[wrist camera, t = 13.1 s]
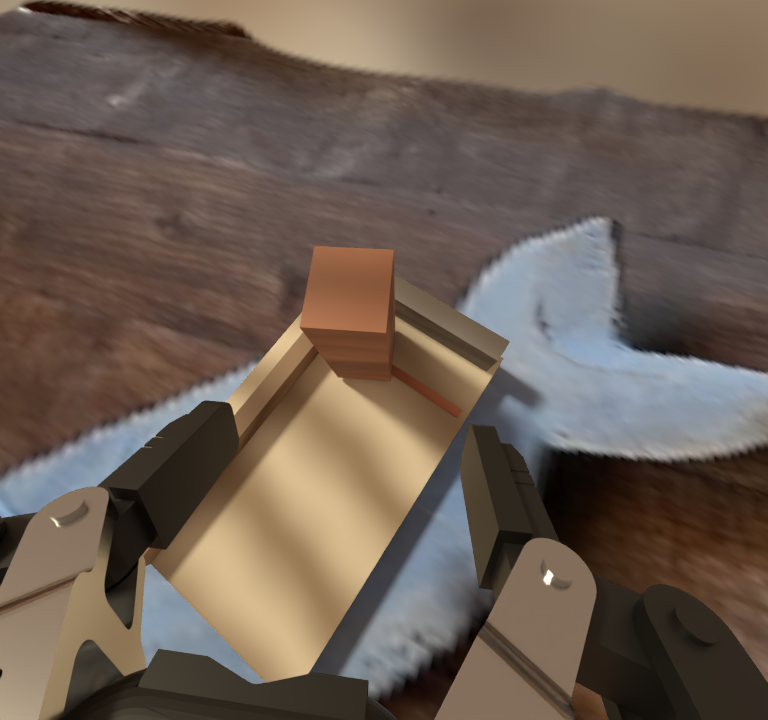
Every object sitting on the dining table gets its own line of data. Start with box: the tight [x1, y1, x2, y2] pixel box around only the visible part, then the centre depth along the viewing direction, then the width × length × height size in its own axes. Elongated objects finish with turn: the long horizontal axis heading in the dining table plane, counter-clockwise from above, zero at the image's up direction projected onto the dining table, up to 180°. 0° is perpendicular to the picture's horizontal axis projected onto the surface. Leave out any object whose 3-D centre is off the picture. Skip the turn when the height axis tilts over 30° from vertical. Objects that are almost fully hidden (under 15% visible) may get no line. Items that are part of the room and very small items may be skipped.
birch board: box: [143, 275, 510, 683], centre depth 19 cm, size 23×14×4 cm, turn 145°
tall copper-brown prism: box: [300, 246, 395, 382], centre depth 17 cm, size 5×4×8 cm
